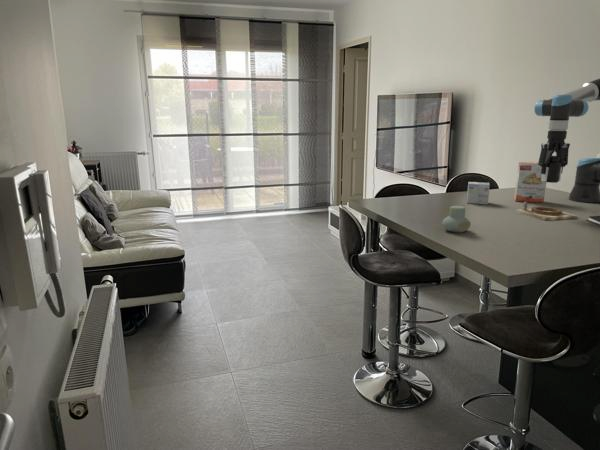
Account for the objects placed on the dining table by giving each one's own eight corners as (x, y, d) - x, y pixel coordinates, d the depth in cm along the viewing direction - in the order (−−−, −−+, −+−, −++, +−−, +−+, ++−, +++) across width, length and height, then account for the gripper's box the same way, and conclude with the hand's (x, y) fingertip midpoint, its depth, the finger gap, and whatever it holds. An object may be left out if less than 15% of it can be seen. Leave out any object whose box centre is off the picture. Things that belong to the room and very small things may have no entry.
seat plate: (547, 210, 227) (548, 199, 225) (577, 218, 210) (578, 207, 208) (516, 211, 222) (517, 201, 221) (544, 220, 205) (545, 209, 204)
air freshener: (453, 235, 182) (456, 210, 179) (438, 230, 189) (440, 206, 186) (473, 231, 187) (475, 207, 184) (457, 227, 194) (459, 203, 191)
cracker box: (515, 201, 247) (520, 162, 242) (513, 199, 253) (518, 161, 248) (544, 203, 243) (549, 163, 238) (541, 201, 249) (547, 162, 244)
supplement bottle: (560, 183, 208) (564, 156, 205) (544, 182, 209) (548, 156, 206) (555, 180, 215) (559, 155, 212) (540, 180, 216) (543, 154, 213)
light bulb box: (487, 202, 245) (489, 182, 242) (488, 204, 239) (490, 184, 236) (466, 201, 248) (468, 181, 246) (466, 203, 242) (468, 183, 239)
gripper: (569, 129, 212) (561, 178, 218) (533, 129, 207) (526, 180, 213) (582, 130, 205) (574, 181, 211) (545, 130, 200) (538, 182, 206)
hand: (550, 180), depth 212 cm, fingers closed on supplement bottle, 7 cm apart
